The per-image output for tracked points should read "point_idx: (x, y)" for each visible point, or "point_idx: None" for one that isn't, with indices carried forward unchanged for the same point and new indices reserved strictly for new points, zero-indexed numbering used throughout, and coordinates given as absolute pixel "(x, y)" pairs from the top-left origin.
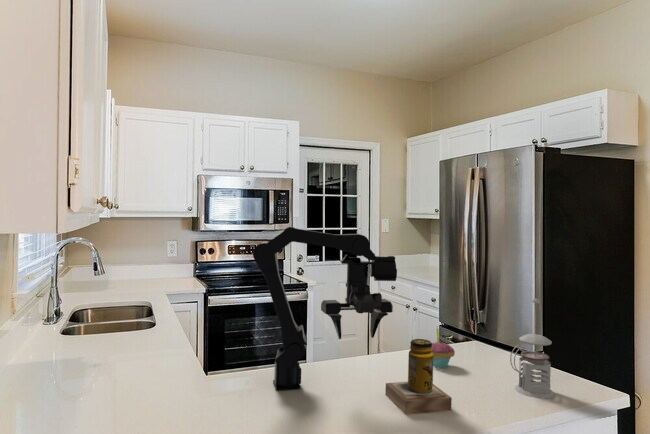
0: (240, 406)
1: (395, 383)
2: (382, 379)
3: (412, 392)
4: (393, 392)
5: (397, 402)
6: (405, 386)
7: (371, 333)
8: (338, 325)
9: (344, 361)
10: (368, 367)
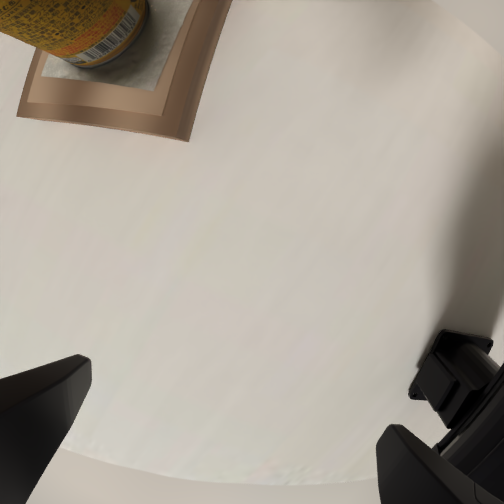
0: None
1: (144, 106)
2: (111, 288)
3: (152, 3)
4: (202, 53)
5: (219, 25)
6: (132, 57)
7: (75, 394)
8: (480, 497)
9: (165, 462)
10: (110, 398)
